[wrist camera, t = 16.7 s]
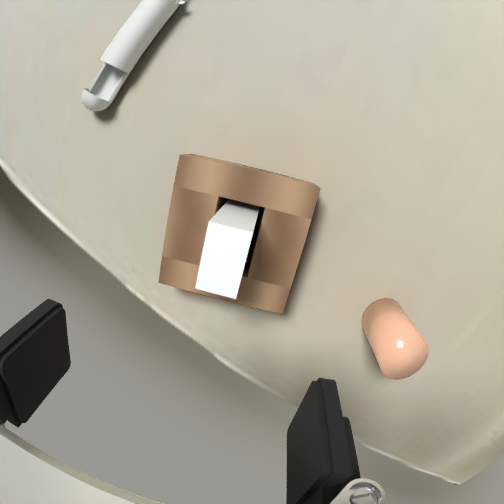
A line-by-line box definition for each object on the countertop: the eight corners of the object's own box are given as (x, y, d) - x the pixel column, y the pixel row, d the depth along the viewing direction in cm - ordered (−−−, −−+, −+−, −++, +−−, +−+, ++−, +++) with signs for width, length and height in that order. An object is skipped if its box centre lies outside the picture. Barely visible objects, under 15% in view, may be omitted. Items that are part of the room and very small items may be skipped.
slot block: (314, 183, 29) (320, 188, 25) (281, 295, 33) (282, 314, 29) (192, 154, 29) (180, 154, 25) (171, 267, 33) (158, 282, 29)
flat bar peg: (259, 206, 30) (253, 232, 20) (247, 254, 32) (235, 299, 22) (229, 198, 30) (208, 221, 20) (218, 246, 31) (195, 288, 22)
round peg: (408, 302, 32) (437, 340, 24) (391, 339, 34) (413, 381, 26) (371, 294, 32) (395, 333, 24) (355, 332, 34) (372, 376, 26)
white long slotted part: (114, 120, 28) (80, 116, 22) (85, 102, 28) (49, 96, 21) (210, -16, 23) (197, -46, 17) (176, -28, 22) (157, -57, 16)
